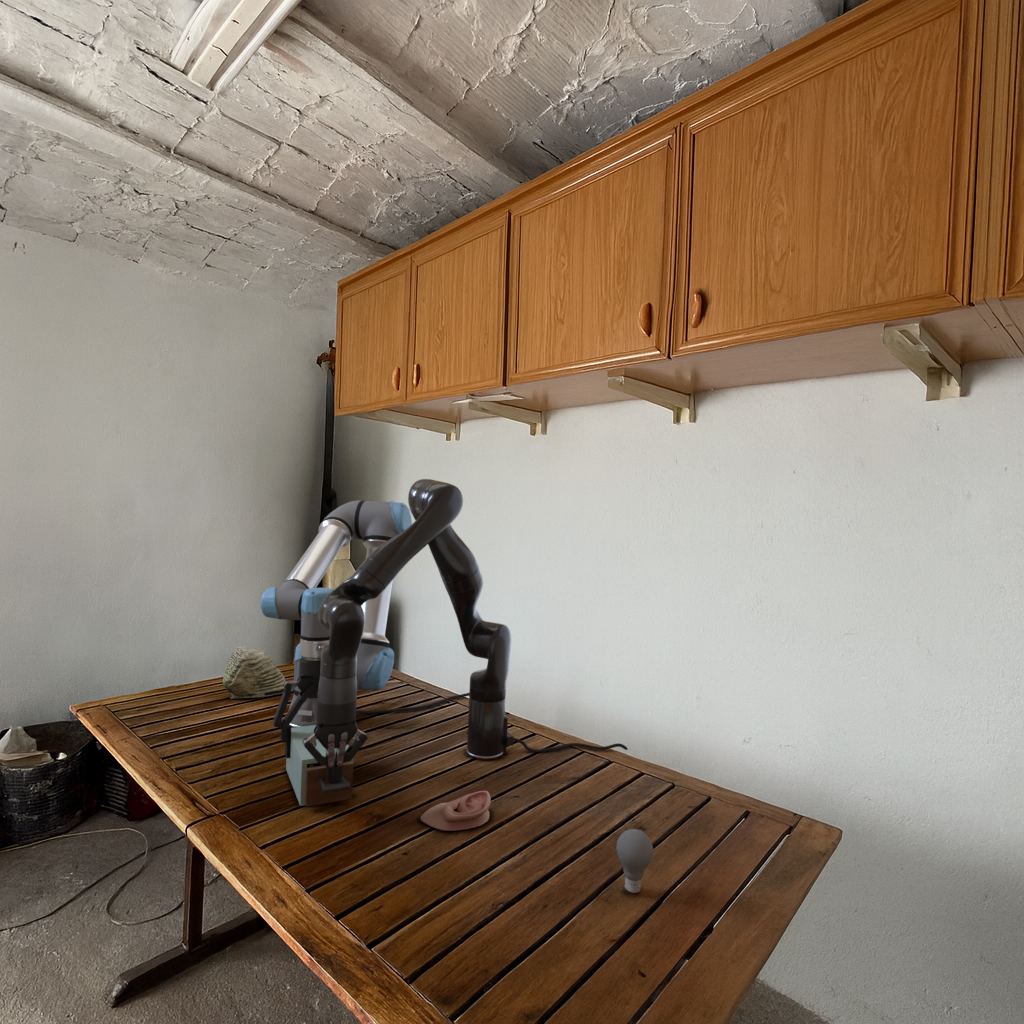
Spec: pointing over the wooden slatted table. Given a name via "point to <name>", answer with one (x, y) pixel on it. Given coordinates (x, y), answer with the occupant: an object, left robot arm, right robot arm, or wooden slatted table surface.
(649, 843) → the light bulb
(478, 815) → the anatomical model
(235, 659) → the fossil
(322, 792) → the drawer
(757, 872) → the wooden slatted table surface
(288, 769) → the cabinet
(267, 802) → the wooden slatted table surface
